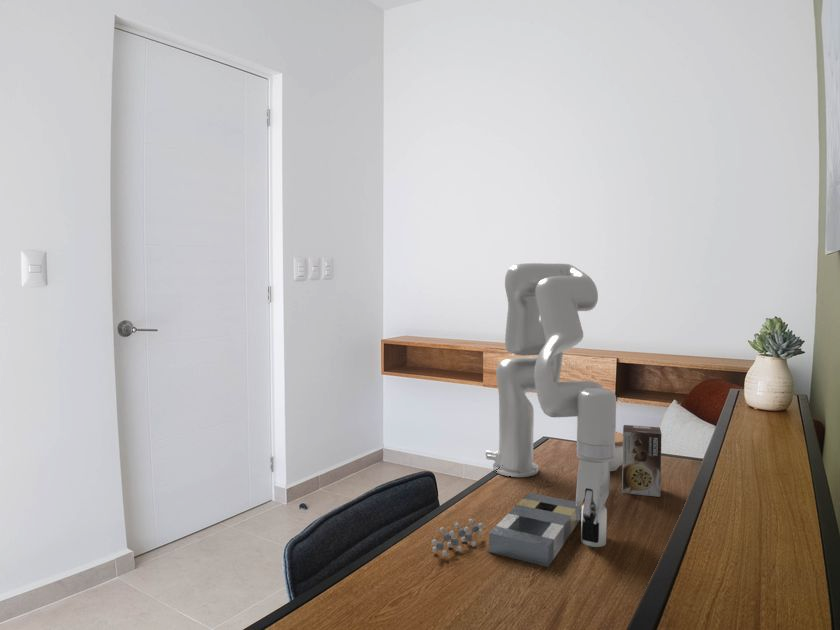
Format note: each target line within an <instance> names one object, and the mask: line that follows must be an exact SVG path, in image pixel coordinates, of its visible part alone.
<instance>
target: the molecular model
mask: <svg viewBox="0 0 840 630" xmlns="http://www.w3.org/2000/svg"><path fill="white" fill-rule="evenodd" d="M468 523H469V524H470V525H472V526H471V532H469V531H470V527H468V526H465V527H464V528H460V523H458V522H455V523H454V527H455V529H458V531H457V536H456V537H454V536H455V532H454V530H450V531H449V532H446V530H445V529H446V528H445V527H444V526H442V527H440V528H439V531H440V533H441V534H443V535H442V538H443V540H441V541H437V540H436V539H432V540H431V544H432V545H433V547H432V550H431V551H432V552H434V553H437V551H441V555H442V556H443V557H446V556H447V554H448V552H447V550H445V549H444V546H445V545H444V542H447V544H446V546H447V547H448V548H452V546H454V547H455V546H456V551H457V552H462V550H463V548H462V546H461V545H459V538H460V537H461V539H460V540H461V542H462V543H466V541H467V542H470V546H471V547H472V548H474V547H476V545H477V543H476V541H473V535H472V534H473V533H477V534H478V535H482V534H483V528H484V524H483V523H482V522H480V523H478V524H476V523H474V519H473V518H469V519H468Z"/></svg>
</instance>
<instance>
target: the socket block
mask: <svg viewBox="0 0 840 630" xmlns="http://www.w3.org/2000/svg"><path fill="white" fill-rule="evenodd" d="M579 522H581V510H580V506H579V507H578V506H577V505H576V500H568V499H564V498H557V497H553V496H548V495H542V494H538V493H533V492H528V493H526V495H525V496H524V497H523V498H522V499H521V500H520V501H519V502H518V503H517V504H516V505H515V506H514V507H513V508H512V509H511V510H510V511H509V512H508V513H507V514H506V515H505V516H504V517H503V518H502V519H501V520H500V521H499V522H498V523H497V524H496V525H495V526H494V527H493V528H492V529H491V530H490V532H489V533H488V534H489V535H488V553H491V554H495V555H498V556H503V557H507V558H510V559H515V560H518V561H523V562H526V563H530V564H535V565H537V566H542V567H545V568H549V566H550V565H551V563H552V562H553V560H555V558H556V556H557V555H558V553H559V552H560V550H561V549H562V547H563V546H564V544H565V543H566V541H567V540H568V539H569V537H570V536H571V534H572V533H573V531H574V530H575V529H576V527H577V525H578V524H579Z"/></svg>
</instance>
